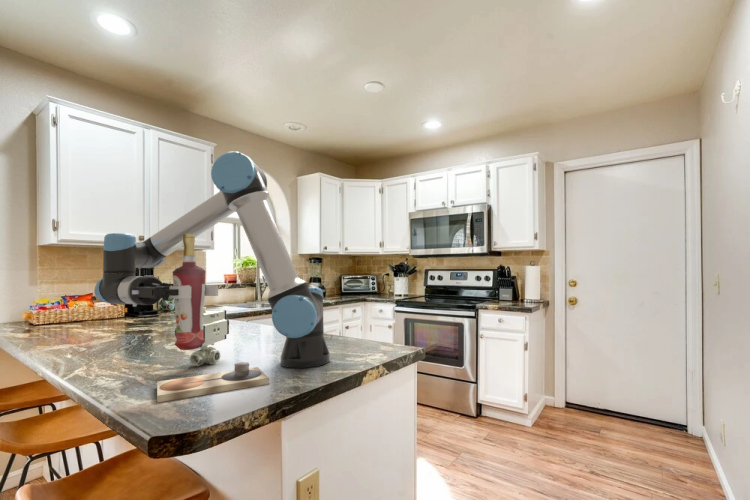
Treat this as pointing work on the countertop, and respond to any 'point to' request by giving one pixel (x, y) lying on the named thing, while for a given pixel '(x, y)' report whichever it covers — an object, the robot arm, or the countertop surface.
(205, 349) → the ball valve
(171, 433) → the countertop surface
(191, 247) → the liquor
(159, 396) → the board
